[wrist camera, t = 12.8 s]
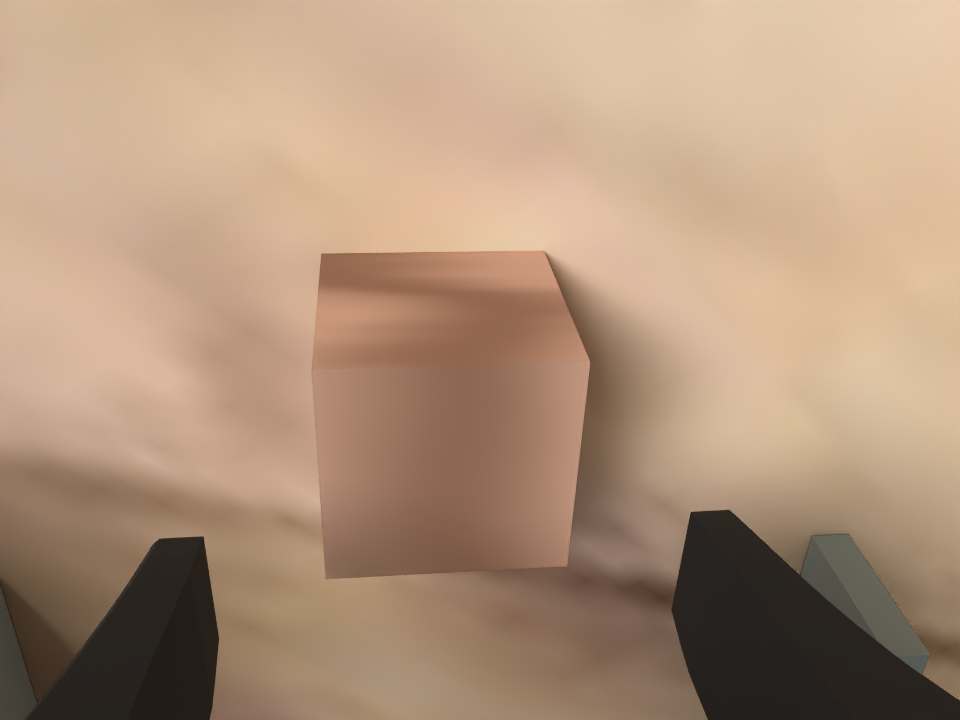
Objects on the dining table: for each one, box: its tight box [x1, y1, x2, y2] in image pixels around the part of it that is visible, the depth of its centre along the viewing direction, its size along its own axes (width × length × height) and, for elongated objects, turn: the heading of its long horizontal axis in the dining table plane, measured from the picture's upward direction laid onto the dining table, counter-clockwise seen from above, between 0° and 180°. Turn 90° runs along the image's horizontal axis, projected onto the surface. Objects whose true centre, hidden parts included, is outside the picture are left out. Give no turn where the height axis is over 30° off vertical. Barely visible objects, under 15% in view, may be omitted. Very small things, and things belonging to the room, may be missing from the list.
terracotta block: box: [312, 251, 590, 579], centre depth 18 cm, size 4×4×4 cm
